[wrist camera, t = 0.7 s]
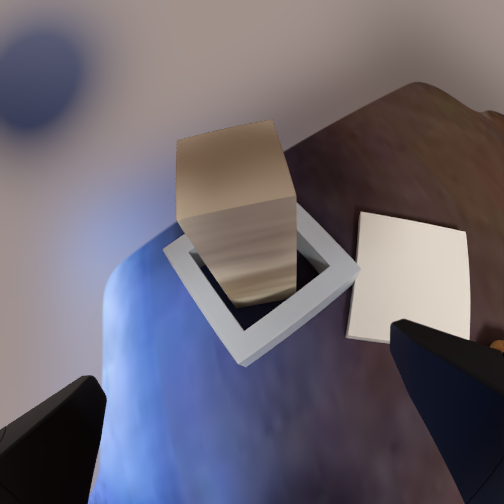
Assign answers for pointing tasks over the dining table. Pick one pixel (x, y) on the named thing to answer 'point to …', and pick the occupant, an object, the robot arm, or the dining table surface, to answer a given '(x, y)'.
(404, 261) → the tile
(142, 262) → the dining table surface
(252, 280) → the peg
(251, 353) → the holder
